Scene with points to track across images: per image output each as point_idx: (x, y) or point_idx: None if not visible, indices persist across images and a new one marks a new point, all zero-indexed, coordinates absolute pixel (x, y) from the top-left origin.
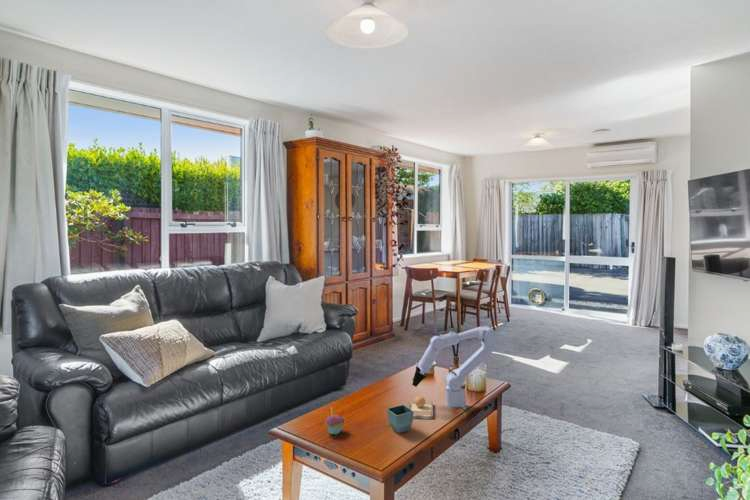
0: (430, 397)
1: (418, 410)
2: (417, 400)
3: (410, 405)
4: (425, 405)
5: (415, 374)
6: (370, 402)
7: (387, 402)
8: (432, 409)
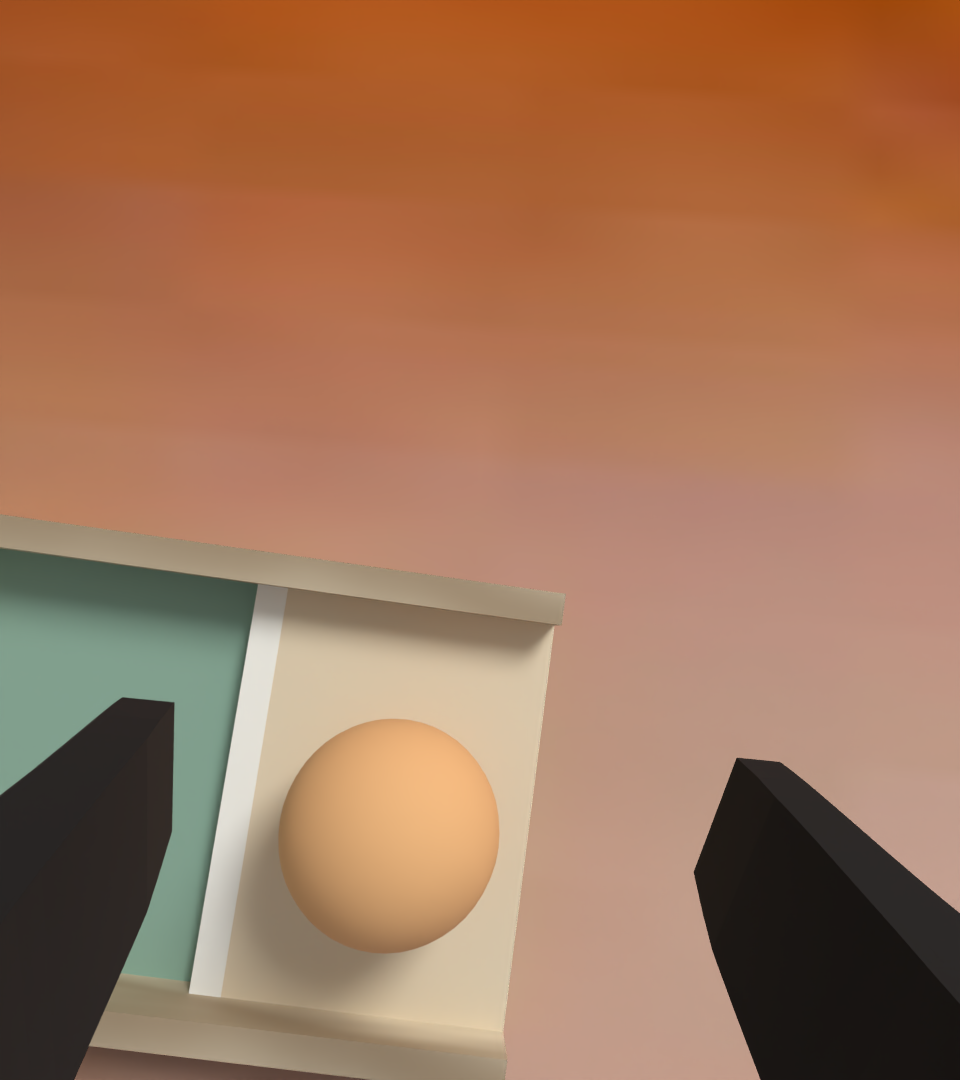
0: None
1: (232, 756)
2: (311, 779)
3: (476, 633)
4: None
5: (913, 995)
6: (741, 15)
7: (733, 273)
8: (106, 1041)
